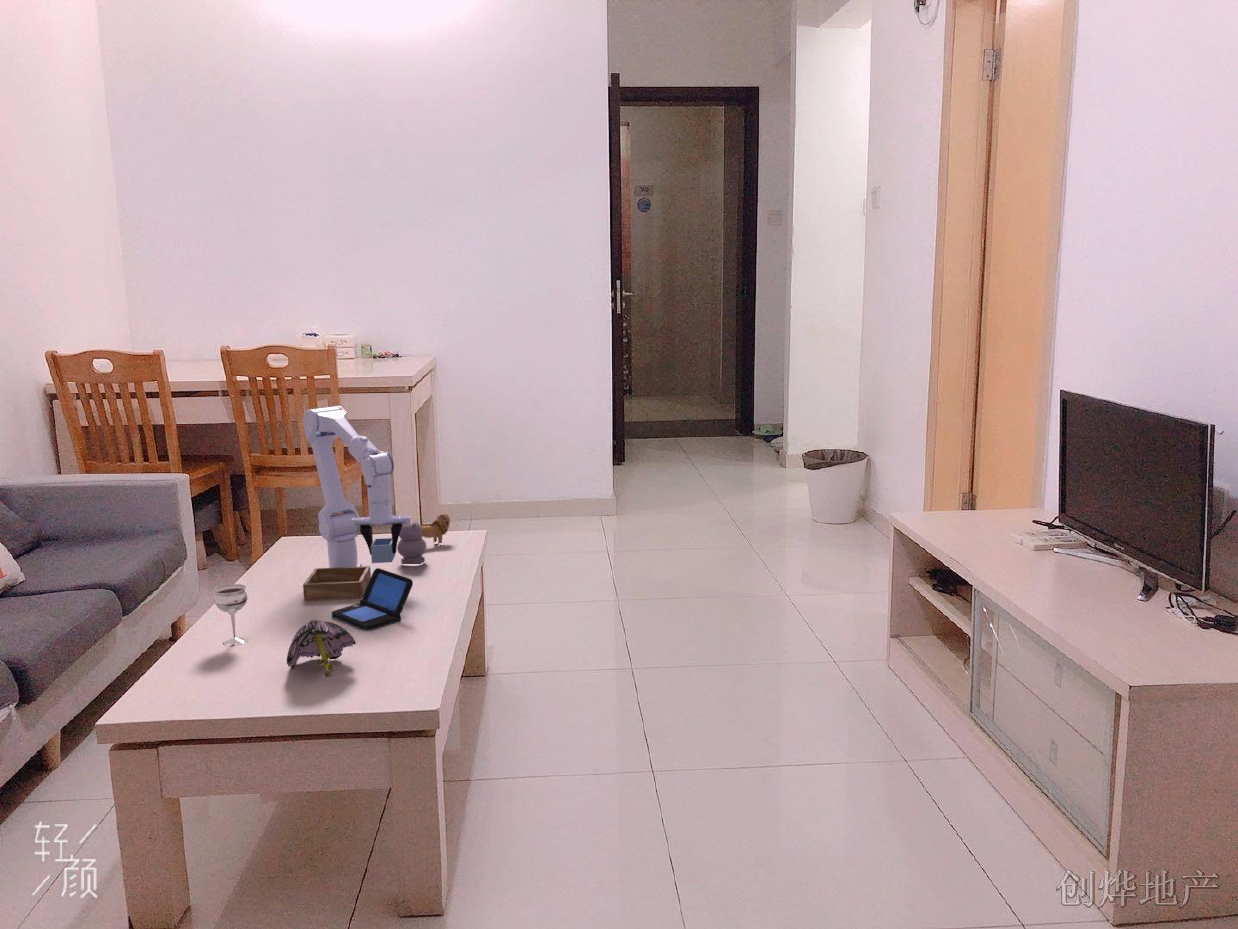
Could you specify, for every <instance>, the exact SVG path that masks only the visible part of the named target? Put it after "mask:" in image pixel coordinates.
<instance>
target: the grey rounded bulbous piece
mask: <svg viewBox="0 0 1238 929" xmlns="http://www.w3.org/2000/svg"><path fill="white" fill-rule="evenodd" d="M422 526H423V525H421V524H420V523H419V522H417V521H415V520H414V518H412V517H411V524H410V525H406V524H405V525H403V526H402V528H401V531H400V534H399V537H398V538H400V540H398V542H397V548H396V551H397V552H398V554H399V555H400V556H401V557H402V558H401V559H400V562H401V563H402V564H421V563H423V562H424V561H425V562H426V558H425V556H423V555H424V553H425V552H426V551H427V543H426V541H425V540H424V539H423V536H422V534H423V529H422ZM421 537H422V538H421ZM401 563H400V564H401Z"/></svg>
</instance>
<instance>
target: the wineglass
mask: <svg viewBox="0 0 1238 929" xmlns="http://www.w3.org/2000/svg"><path fill="white" fill-rule="evenodd" d="M246 588H247V585H245V584H240V583H235V584H226V585H222V586H218V587H215V588H214V589H213V592H214V594H215V595H214V597H213V598H214V599H213V602H214V603H215V604H214V605H216V607H217V609H218V610H220V611H221V612H225V613H227V614H229V615H230V620H231V628H232V635H233V638H229V640H228V639H227V641H226V640H225V644H240V645H242V644H245V643H246V642H247V641H246V639H247V638H246V639H244V638H245V637H236V620H235V614H236V613H237V612H238V611H239V610H242V609H243V607H245V605H246V604H247V601H248V594H247V591H246ZM244 642H245V643H244ZM241 643H242V644H241Z"/></svg>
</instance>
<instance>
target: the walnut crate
mask: <svg viewBox="0 0 1238 929" xmlns="http://www.w3.org/2000/svg"><path fill="white" fill-rule="evenodd" d="M371 576H372V574H371V566H370V565H368V566H367V565H366V566H364V565H363V566H360V567H340V568H329V567H323V568H320V567H319V568H318V567H317V568H314V569H313V570H312V572H311V573H310V575H309V576H308V577H307V579H306V580H305V582H304V583H303V584H302V588H303V601H323V600H324V601H326V600H346V599H362V597H363V595H364V593H365V591H366V588H367V586H368V583H369V581H370V579H371Z"/></svg>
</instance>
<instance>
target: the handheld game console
mask: <svg viewBox="0 0 1238 929" xmlns="http://www.w3.org/2000/svg"><path fill="white" fill-rule="evenodd" d="M413 583H414V582H413V579H411V578H408V577H406V576H403V575H399V574H397V573H394V572H392V571H387V570H385V569H383V568H380V567H378V568H375V569H374V570H373V571H372V574H371V579H370V581H369V583H368V586H367V588H366V591H365V593H364V595H363V598H360V600H359V603H355V604H352V605H349V606H346V607H342V608H338V609H335V610H333V611H332V612H331V617H332V618H335V619H336V620H339V621H341V622H344V623H346V624H349V625H352V626H353V627H357V628H358V629H361V630H363V631H371V630H375V629H379V628H382V627H385V626H388V625H391V624H395V623H397V622H401V620H402V618H401V614H402V612H403V609H404V606H405V605H406V602H407V599H408V597H409V595H410V592H411V591H412V588H413V585H414V584H413ZM381 626H382V627H381ZM378 627H379V628H378Z"/></svg>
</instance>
